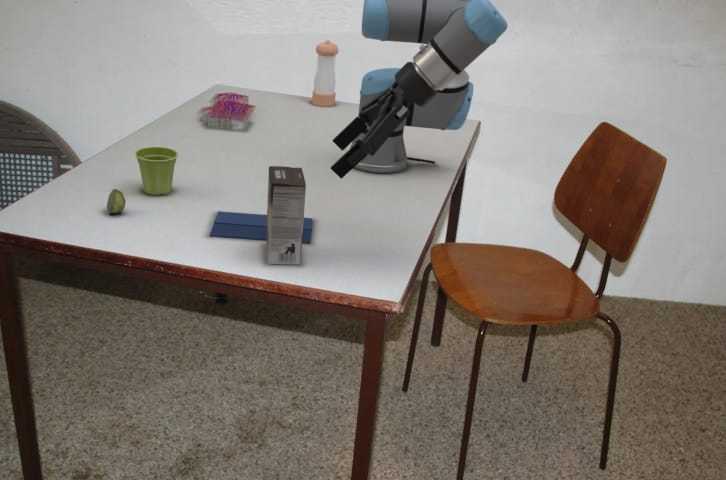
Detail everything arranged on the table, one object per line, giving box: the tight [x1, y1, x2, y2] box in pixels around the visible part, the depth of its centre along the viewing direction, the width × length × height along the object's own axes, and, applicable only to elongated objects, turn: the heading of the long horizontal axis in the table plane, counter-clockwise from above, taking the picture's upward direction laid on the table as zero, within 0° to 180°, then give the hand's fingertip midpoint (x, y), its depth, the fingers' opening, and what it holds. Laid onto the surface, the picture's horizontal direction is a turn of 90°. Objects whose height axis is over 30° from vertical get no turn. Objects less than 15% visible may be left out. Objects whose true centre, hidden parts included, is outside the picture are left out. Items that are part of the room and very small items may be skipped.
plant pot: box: [134, 146, 179, 196], centre depth 176 cm, size 9×9×9 cm
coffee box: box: [265, 165, 307, 266], centre depth 149 cm, size 9×6×16 cm
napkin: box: [209, 210, 313, 244], centre depth 163 cm, size 20×12×1 cm, turn 87°
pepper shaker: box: [311, 39, 340, 107], centre depth 247 cm, size 7×7×19 cm
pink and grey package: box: [196, 91, 256, 131], centre depth 232 cm, size 30×15×5 cm, turn 174°
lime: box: [106, 188, 126, 215], centre depth 165 cm, size 4×5×5 cm
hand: (336, 158), depth 146 cm, fingers open, 13 cm apart
